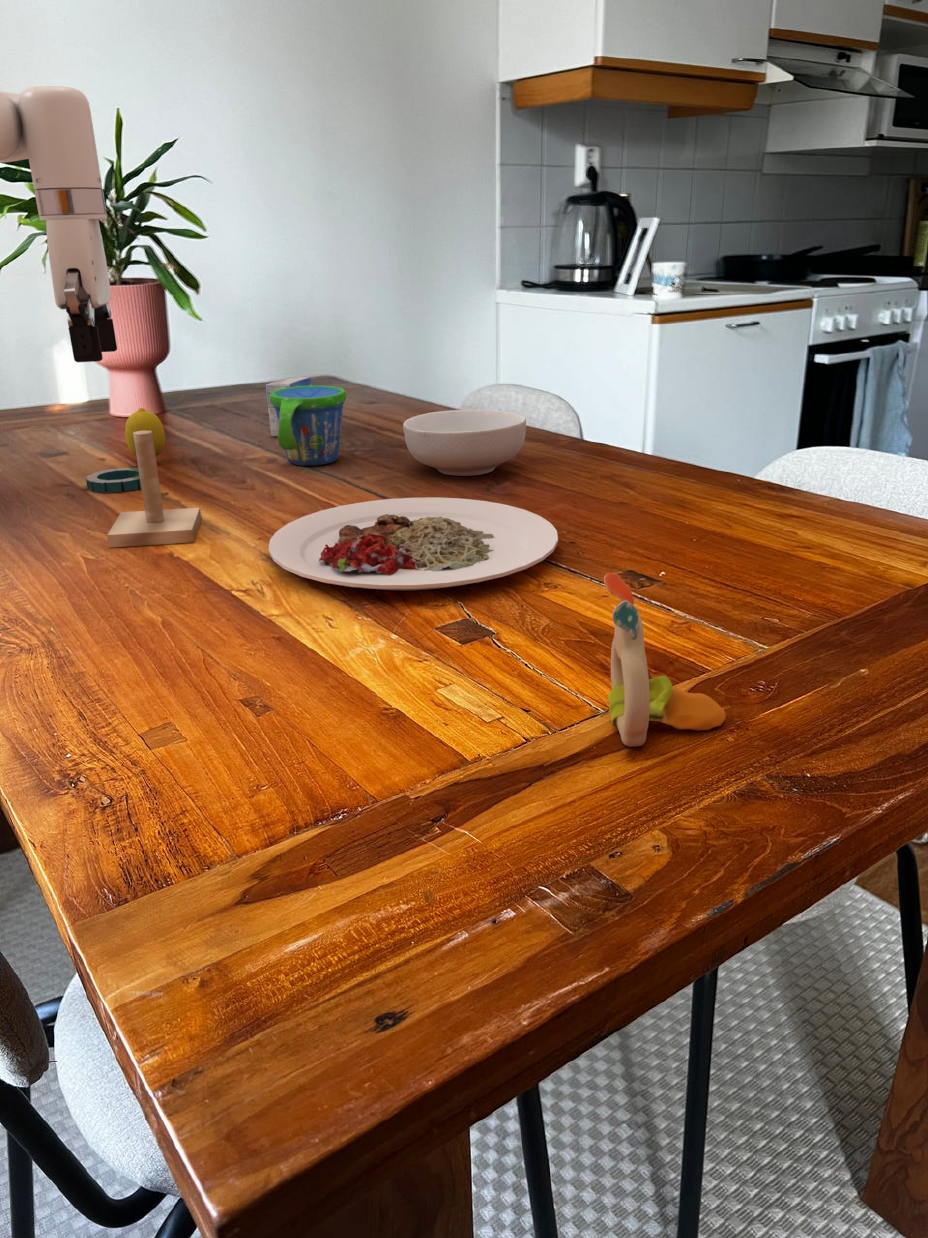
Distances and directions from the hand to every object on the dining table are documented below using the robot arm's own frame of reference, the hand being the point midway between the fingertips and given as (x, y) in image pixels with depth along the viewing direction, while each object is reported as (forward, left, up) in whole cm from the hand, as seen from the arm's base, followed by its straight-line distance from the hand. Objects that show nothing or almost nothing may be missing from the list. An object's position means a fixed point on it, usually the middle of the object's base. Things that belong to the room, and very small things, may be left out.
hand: (97, 356), depth 120 cm
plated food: (+35, -33, -18) cm, 51 cm away
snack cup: (+25, +12, -18) cm, 33 cm away
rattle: (+47, -75, -18) cm, 90 cm away
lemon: (+1, +17, -18) cm, 25 cm away
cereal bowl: (+46, +2, -18) cm, 50 cm away
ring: (-1, +4, -17) cm, 18 cm away
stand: (+7, -20, -17) cm, 27 cm away
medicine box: (+22, +34, -18) cm, 45 cm away
